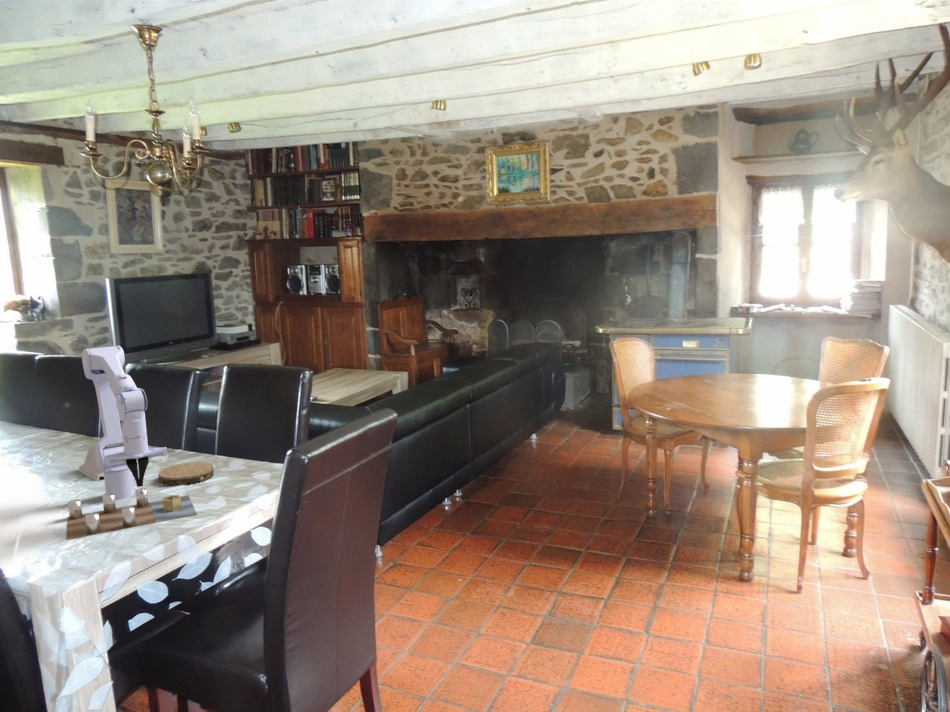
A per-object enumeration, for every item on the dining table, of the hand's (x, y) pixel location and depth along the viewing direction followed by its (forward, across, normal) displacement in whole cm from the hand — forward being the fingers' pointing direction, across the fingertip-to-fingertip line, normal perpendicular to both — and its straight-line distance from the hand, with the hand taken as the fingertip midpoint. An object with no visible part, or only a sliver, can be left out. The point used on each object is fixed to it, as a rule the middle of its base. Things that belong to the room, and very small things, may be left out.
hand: (139, 485), depth 181 cm
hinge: (+9, -9, +51) cm, 52 cm away
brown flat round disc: (+9, +14, +29) cm, 34 cm away
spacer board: (+9, -2, 0) cm, 9 cm away
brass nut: (+8, +7, 0) cm, 11 cm away
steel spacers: (+9, -8, 0) cm, 11 cm away
